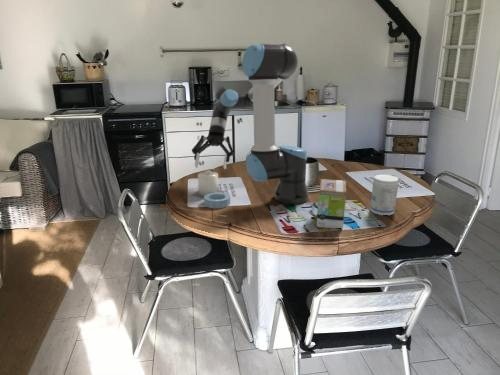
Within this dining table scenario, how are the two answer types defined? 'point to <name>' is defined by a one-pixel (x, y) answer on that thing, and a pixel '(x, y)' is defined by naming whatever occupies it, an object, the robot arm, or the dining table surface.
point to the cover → (207, 182)
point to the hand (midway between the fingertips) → (210, 166)
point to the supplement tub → (384, 194)
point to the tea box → (331, 203)
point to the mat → (203, 196)
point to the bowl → (217, 200)
